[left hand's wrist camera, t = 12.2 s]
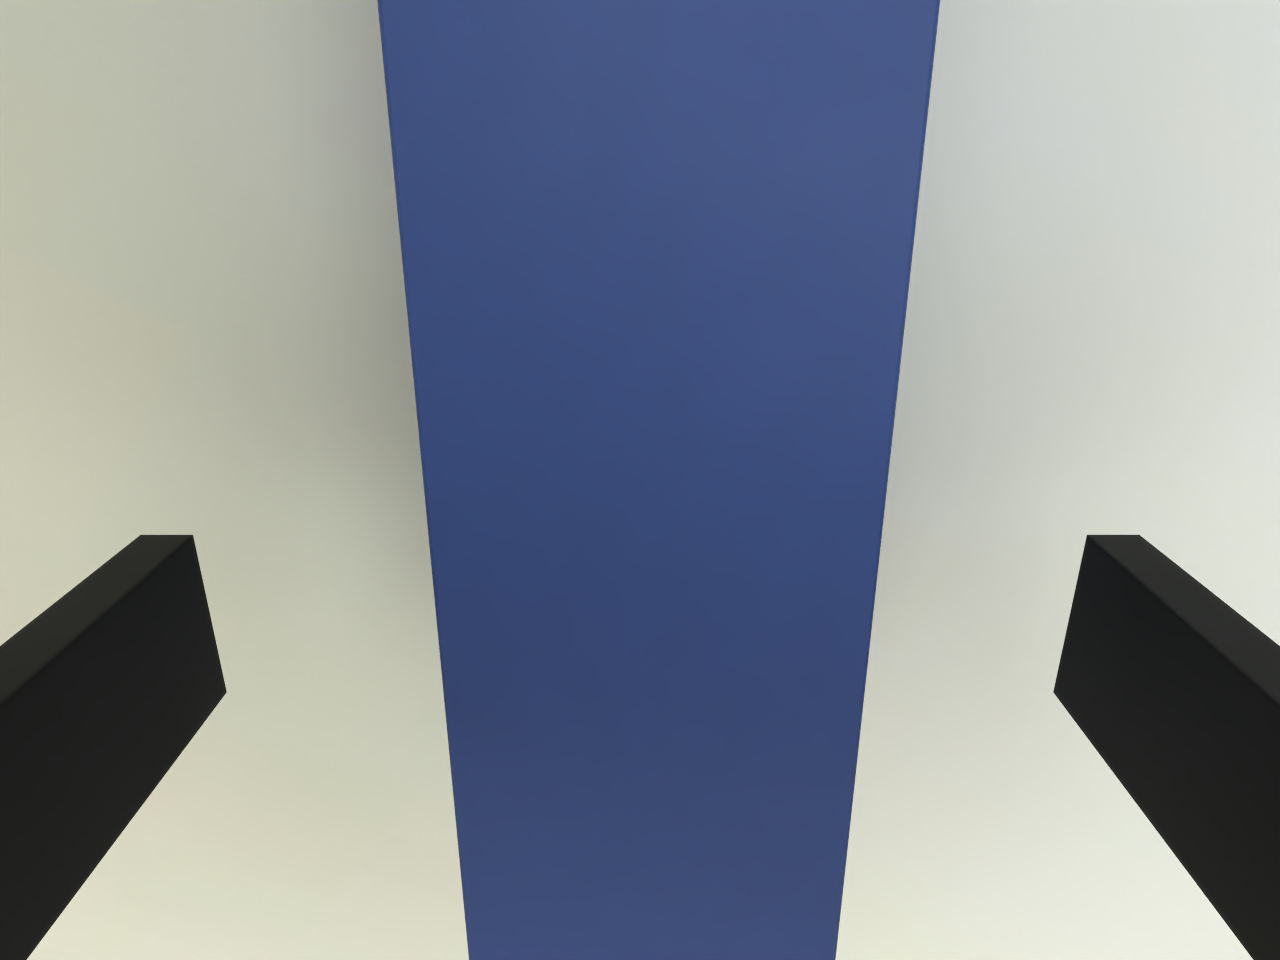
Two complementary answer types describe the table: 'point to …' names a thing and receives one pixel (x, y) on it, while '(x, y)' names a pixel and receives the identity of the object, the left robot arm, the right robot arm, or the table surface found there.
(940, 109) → the table surface
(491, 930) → the bar
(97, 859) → the left robot arm
